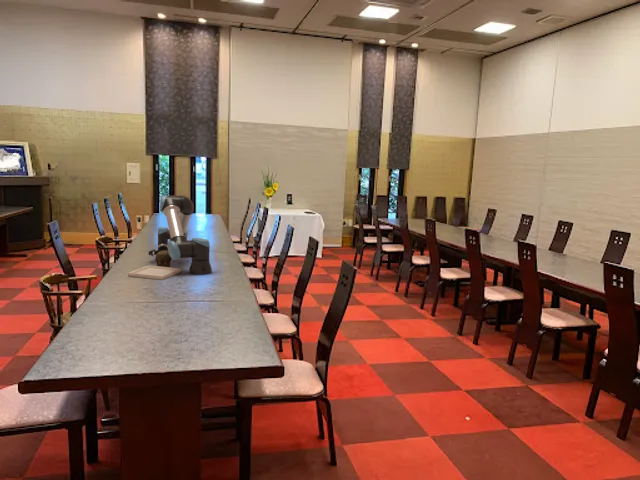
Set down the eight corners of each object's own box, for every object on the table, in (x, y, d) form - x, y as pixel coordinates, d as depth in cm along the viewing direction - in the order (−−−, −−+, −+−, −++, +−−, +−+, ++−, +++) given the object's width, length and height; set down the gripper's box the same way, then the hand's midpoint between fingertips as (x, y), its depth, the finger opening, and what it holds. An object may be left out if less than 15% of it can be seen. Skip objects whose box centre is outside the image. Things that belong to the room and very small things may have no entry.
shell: (174, 266, 336) (174, 249, 334) (167, 269, 325) (167, 252, 323) (159, 265, 337) (159, 248, 335) (152, 268, 326) (152, 251, 324)
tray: (180, 272, 320) (180, 268, 320) (162, 280, 297) (162, 276, 296) (148, 268, 324) (148, 265, 324) (127, 276, 301) (127, 272, 301)
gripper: (180, 254, 364) (181, 260, 344) (145, 254, 355) (145, 260, 336) (180, 244, 362) (181, 249, 343) (145, 244, 354) (144, 250, 334)
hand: (163, 255), depth 339 cm, fingers open, 13 cm apart
